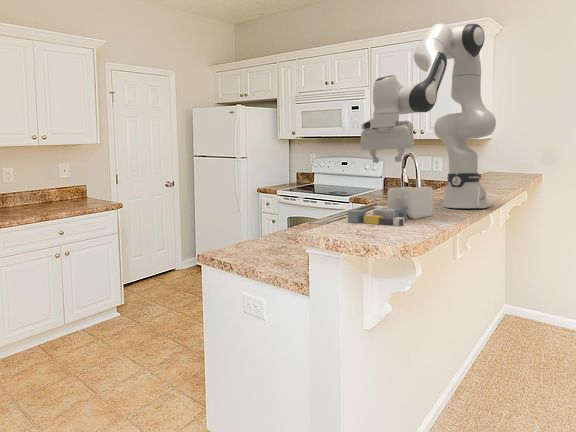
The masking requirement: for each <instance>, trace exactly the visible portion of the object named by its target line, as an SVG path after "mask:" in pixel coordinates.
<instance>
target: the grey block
mask: <svg viewBox="0 0 576 432" xmlns="http://www.w3.org/2000/svg"><path fill="white" fill-rule="evenodd" d="M365 215H367V212H366V210H364V209H363V210H361V209H355V210H348V211H347V223H351V224H361V223H360V222H361V217H364V216H365Z"/></svg>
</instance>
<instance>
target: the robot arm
mask: <svg viewBox="0 0 576 432" xmlns="http://www.w3.org/2000/svg"><path fill="white" fill-rule="evenodd" d="M484 43H485V32H484V29H483V27H482V26H480V24H477V23H468V24H466V25H461V26H457V27H453V28H451V26H449V25H447V24H446V23H436V24H434V25H433V26H431V27H430V28H429V30H428V31H426V33H425V34H424V35H423V37H422V38H421V40H420V41H419V43H418V44H417V47H416V48H415V50H414V53H413V59H414V62H415V64H416V65H415V66H417V67H418V69H420V70H422V71H423V72H425V77H424V79H423V80H422V81H419V82H418V83H415V84H411V85H406V86H404V85H403V84H401V83H400V82H399V81H398V78H397V76H396V75H386V76H382V77H379V78H376V80H375V81H374V82H373V89H372V90H373V91H372V104H373V109H374V110H373V112H372V113H373V114H372V116H373V117H372V118H370V119H369V120H368V121H365V122H363V123H362V124H361V130H362V132H360V133H361V134H360V149H361V150H362V151H369V155H370V156H371V158H372V163H373V164H376V163H377V164H378V163H379V162H380V159H379V157H377V151H379V150H393V149H396V150H397V152H398V154H397V156H395V157H394V158H395V159H394V161H395V163H400V162H402V158H403V155H404V153H405V149H411V148H413V146H414V145H415V140H414V138H415V137H414V132H413V130H414V126H413V123H412V122H410V121H409V120H404V121H403V120H402V121H400V115H407V114H415V113H416V114H417V113H428V112H430V111H431V110H432V109H433V108H434V106H435V104H436V103H437V99H438V98H437V97H438V92H439V89H440V86H441V84H442V80H443V77H444V76H445V75H444V74H445V73H446V69H447V65H448V60H451V59H453V68H452V73H451V91H450V93H451V94H450V95H451V99H452V100H453V101H454V102H456V103H457V104H459V105H460V107H461V112H455V113H448V114H445V115H443V116H440V117H438V118H437V119H436V121H435V123H434V126H433V127H434V128H433V131H434V135H435V136H436V137H437V138H438V140H440V141H441V142H442V143H443V145H444V146H445V148H446V152H447V155H448V173H447V177H446V178H447V182H448V184H446V186H445V188H444V196H443V203H441V205H440V206H441V207H443V208H449V209H450V208H451V209H486V208H489V207H492V206H493V203H489V202H487V192H486V191H485V189H484V187H483V186H482V184H481V183H480V181H481V179H482V177H483V176H482V174H481V173H478V168H479V167H478V165H479V164H478V162H479V159H478V157H479V156H478V154H477V152H476V151H475V150H473V148H470V147H469V145H468V143H467V140H471V139H481V138H485V137H487V136H491V135H492V133H493V132H494V131H495V129H496V125H497V122H496V121H497V120H496V117H495V115H494V113H492V112H491V111H490V110H488V109H487V108H486V106H485V105H484V102H483V101H482V100H483V99H482V96H481V95H482V93H481V90H482V89H481V86H482V84H481V83H482V64H481V57H480V52H481V50H482V49H483V47H484Z"/></svg>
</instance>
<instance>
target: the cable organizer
mask: <svg viewBox="0 0 576 432" xmlns="http://www.w3.org/2000/svg"><path fill="white" fill-rule="evenodd" d="M387 208H394V209H406V216H407V217H408V218H410V219H412V220H417V219H420V218H426V217H431V216H432V215H433V214H434V189H433V187H432V186H416V187H413V186H401V187H398V186H397V187H390V188H388V190H387Z"/></svg>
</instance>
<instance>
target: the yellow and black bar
mask: <svg viewBox="0 0 576 432" xmlns="http://www.w3.org/2000/svg"><path fill="white" fill-rule="evenodd" d="M359 224H367V225H368V224H370V225H382V226H383V225H384V226H393V227H402V226H405V221H404V217H398V218H393V219H391V218H383V216H374V215H373V214H372V215H371V214H366V215H365V216H364V217H361V222H360V223H359Z"/></svg>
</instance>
